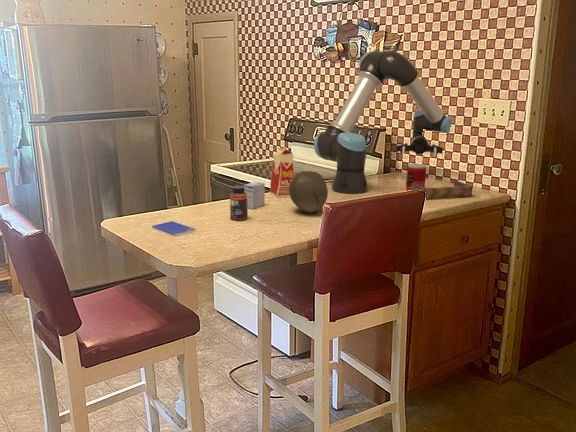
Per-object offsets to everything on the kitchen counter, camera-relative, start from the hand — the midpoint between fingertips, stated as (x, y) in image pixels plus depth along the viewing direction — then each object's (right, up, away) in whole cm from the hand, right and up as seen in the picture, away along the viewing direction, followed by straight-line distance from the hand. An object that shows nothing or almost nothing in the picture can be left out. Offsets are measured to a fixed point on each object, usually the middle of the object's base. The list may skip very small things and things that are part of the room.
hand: (419, 152), depth 249 cm
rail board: (+6, -19, -14) cm, 24 cm away
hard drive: (-94, -33, -66) cm, 119 cm away
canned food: (-3, -17, -5) cm, 18 cm away
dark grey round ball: (-50, -26, -42) cm, 71 cm away
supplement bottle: (-74, -29, -52) cm, 95 cm away
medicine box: (-70, -24, -36) cm, 82 cm away
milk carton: (-59, -19, -17) cm, 64 cm away
